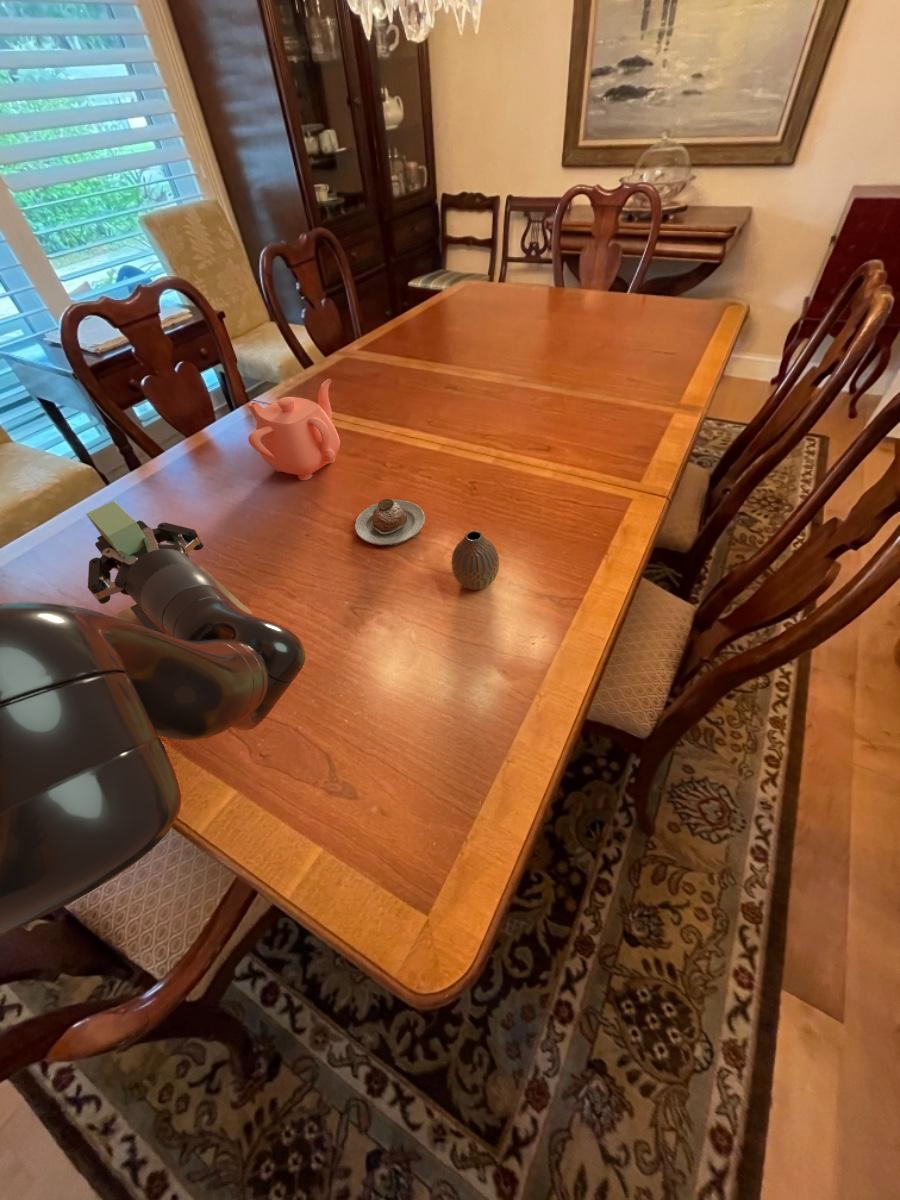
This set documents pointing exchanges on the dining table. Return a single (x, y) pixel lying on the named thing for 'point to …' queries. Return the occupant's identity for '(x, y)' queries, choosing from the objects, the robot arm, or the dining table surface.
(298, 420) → the teapot
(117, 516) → the green rectangular block
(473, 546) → the vase
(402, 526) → the pastry
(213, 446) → the dining table surface
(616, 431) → the dining table surface
